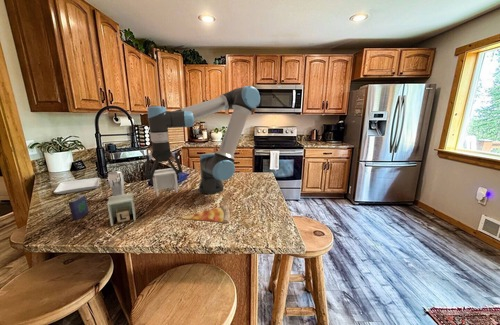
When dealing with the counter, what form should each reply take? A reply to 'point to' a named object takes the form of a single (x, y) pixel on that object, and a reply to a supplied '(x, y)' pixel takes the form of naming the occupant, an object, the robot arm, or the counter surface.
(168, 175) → the grey mini stool
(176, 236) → the counter surface
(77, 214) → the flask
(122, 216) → the letter cube
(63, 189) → the salad plate
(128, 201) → the sage hood
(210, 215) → the pizza slice
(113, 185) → the beer glass
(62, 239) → the counter surface
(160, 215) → the counter surface
